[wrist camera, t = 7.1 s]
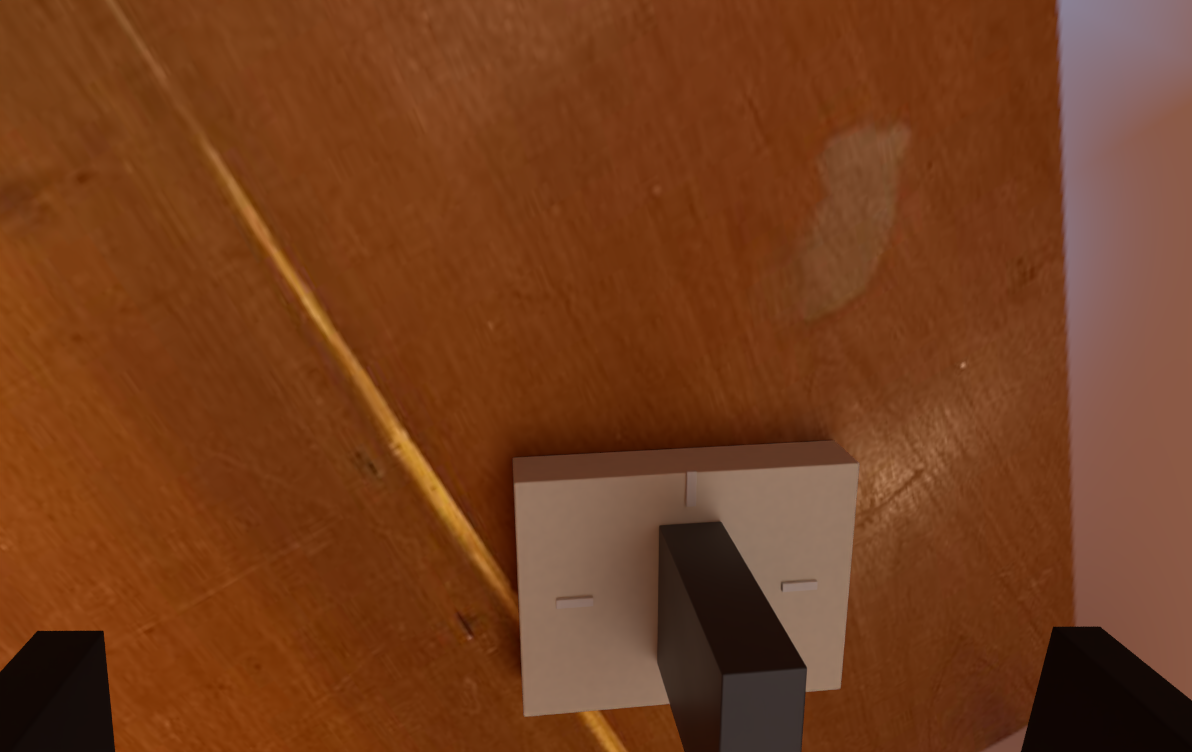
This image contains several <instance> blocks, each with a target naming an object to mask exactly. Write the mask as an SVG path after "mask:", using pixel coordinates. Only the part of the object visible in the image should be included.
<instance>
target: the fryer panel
mask: <svg viewBox="0 0 1192 752" xmlns="http://www.w3.org/2000/svg"><path fill="white" fill-rule="evenodd" d="M512 462H513V485H514V509H515V533H516V556H517V580H518V603H519V627H520V651H521V674H522V695H523V715H524V716H525V717H526V716H538V715H549V714H561V713H572V712H583V711H595V710H606V709H617V708H629V707H640V706H651V705H663V704H670V703H669V700H668V696H667V693H666V690H665V687H664V683H663V680H662V677H661V674H660V670H659V667H658V664H657V643H658V570H659V526H660V525H671V524H687V523H703V522H719V521H720V522H722V523H723V525H724V527H725V529H726V530H727V532H728V534H729V535H730V537H731V539H732V540H733V542H734V544H735V546H736V547H737V549H738V551H739V552H740V554H741V556H742V557H743V559H744V561H745V563H746V564H747V566H748V568H749V569H750V571H751V573H752V574H753V576H754V578H755V580H756V581H757V583H758V585H759V586H760V588H761V590H762V592H763V593H764V595H765V597H766V598H767V600H768V602H769V603H770V605H771V607H772V609H773V610H774V612H775V614H776V615H777V617H778V619H779V620H780V622H781V624H782V626H783V627H784V629H785V631H786V632H787V634H788V636H789V637H790V639H791V641H792V643H793V644H794V646H795V648H796V649H797V651H798V653H799V655H800V656H801V658H802V660H803V661H804V663H805V665H806V666H807V679H806V692H810V691H821V690H833V689H840V688H841V677H842V665H843V653H844V641H845V629H846V617H847V606H848V594H849V582H850V570H851V558H852V546H853V534H854V522H855V510H856V499H857V487H858V475H859V462H858V461H856V460H855V459H854V458H853V457H852V456H851V455H850V454H849V453H848V452H846V451H845V450H844V449H843V448H842V447H841V446H840V445H839V444H838V443H836V442H835V441H834V440H830V441H811V442H792V443H774V444H755V445H737V446H718V447H700V448H681V449H663V450H644V451H626V452H607V453H589V454H570V455H552V456H533V457H514V458H513V459H512Z"/></svg>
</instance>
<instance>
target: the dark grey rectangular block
mask: <svg viewBox="0 0 1192 752" xmlns="http://www.w3.org/2000/svg"><path fill="white" fill-rule="evenodd" d="M657 664H658V667H659V670H660V674H661V677H662V680H663V683H664V687H665V690H666V693H667V696H668V700H669V703H670V706H671V709H672V713H673V716H674V719H675V722H676V726H677V729H678V732H679V735H680V738H681V742H682V745H683V748H684V751H685V752H801V747H802V734H803V720H804V706H805V692H806V679H807V666H806V665H805V663H804V661H803V660H802V658H801V656H800V655H799V653H798V651H797V649H796V648H795V646H794V644H793V643H792V641H791V639H790V637H789V636H788V634H787V632H786V631H785V629H784V627H783V626H782V624H781V622H780V620H779V619H778V617H777V615H776V614H775V612H774V610H773V609H772V607H771V605H770V603H769V602H768V600H767V598H766V597H765V595H764V593H763V592H762V590H761V588H760V586H759V585H758V583H757V581H756V580H755V578H754V576H753V574H752V573H751V571H750V569H749V568H748V566H747V564H746V563H745V561H744V559H743V557H742V556H741V554H740V552H739V551H738V549H737V547H736V546H735V544H734V542H733V540H732V539H731V537H730V535H729V534H728V532H727V530H726V529H725V527H724V525H723V523H722V522H720V521H719V522H703V523H687V524H671V525H660V526H659V570H658V643H657Z"/></svg>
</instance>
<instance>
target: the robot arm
mask: <svg viewBox="0 0 1192 752" xmlns="http://www.w3.org/2000/svg"><path fill="white" fill-rule="evenodd" d="M0 752H115V746H114V735H113V725H112V714H111V704H110V694H109V683H108V673H107V663H106V652H105V642H104V632H103V631H37V632H36V633H35V634H34V635H33V637H32V638H31V639H30V640H29V641H28V642H27V643H26V644H25V645H24V646H23V648H22V649H21V650H20V651H19V652H18V653H17V654H16V655H15V656H14V658H13V659H12V660H11V661H10V662H9V663H8V664H7V665H6V666H5V667H4V669H3V670H2V671H1V672H0ZM1021 752H1192V701H1191V700H1190V699H1189V698H1188V697H1187V696H1185V695H1184V694H1183V693H1182V692H1180V691H1179V690H1178V689H1177V688H1176V687H1174V686H1173V685H1172V684H1170V683H1169V682H1168V681H1167V680H1165V679H1164V678H1163V677H1162V676H1161V675H1159V674H1158V673H1157V672H1156V671H1154V670H1153V669H1152V668H1151V667H1149V666H1148V665H1147V664H1146V663H1144V662H1143V661H1142V660H1141V659H1139V658H1138V657H1137V656H1136V655H1134V654H1133V653H1132V652H1131V651H1130V650H1128V649H1127V648H1126V647H1125V646H1123V645H1122V644H1121V643H1119V642H1118V641H1117V640H1116V639H1115V638H1113V637H1112V636H1111V635H1110V634H1108V633H1107V632H1106V631H1105V630H1103V629H1102V628H1101V627H1053V629H1052V633H1051V637H1050V641H1049V645H1048V649H1047V653H1046V657H1045V661H1044V664H1043V668H1042V672H1041V676H1040V680H1039V684H1038V688H1037V692H1036V696H1035V699H1034V703H1033V707H1032V711H1031V715H1030V719H1029V723H1028V727H1027V731H1026V734H1025V738H1024V743H1023V746H1022V750H1021Z"/></svg>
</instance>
